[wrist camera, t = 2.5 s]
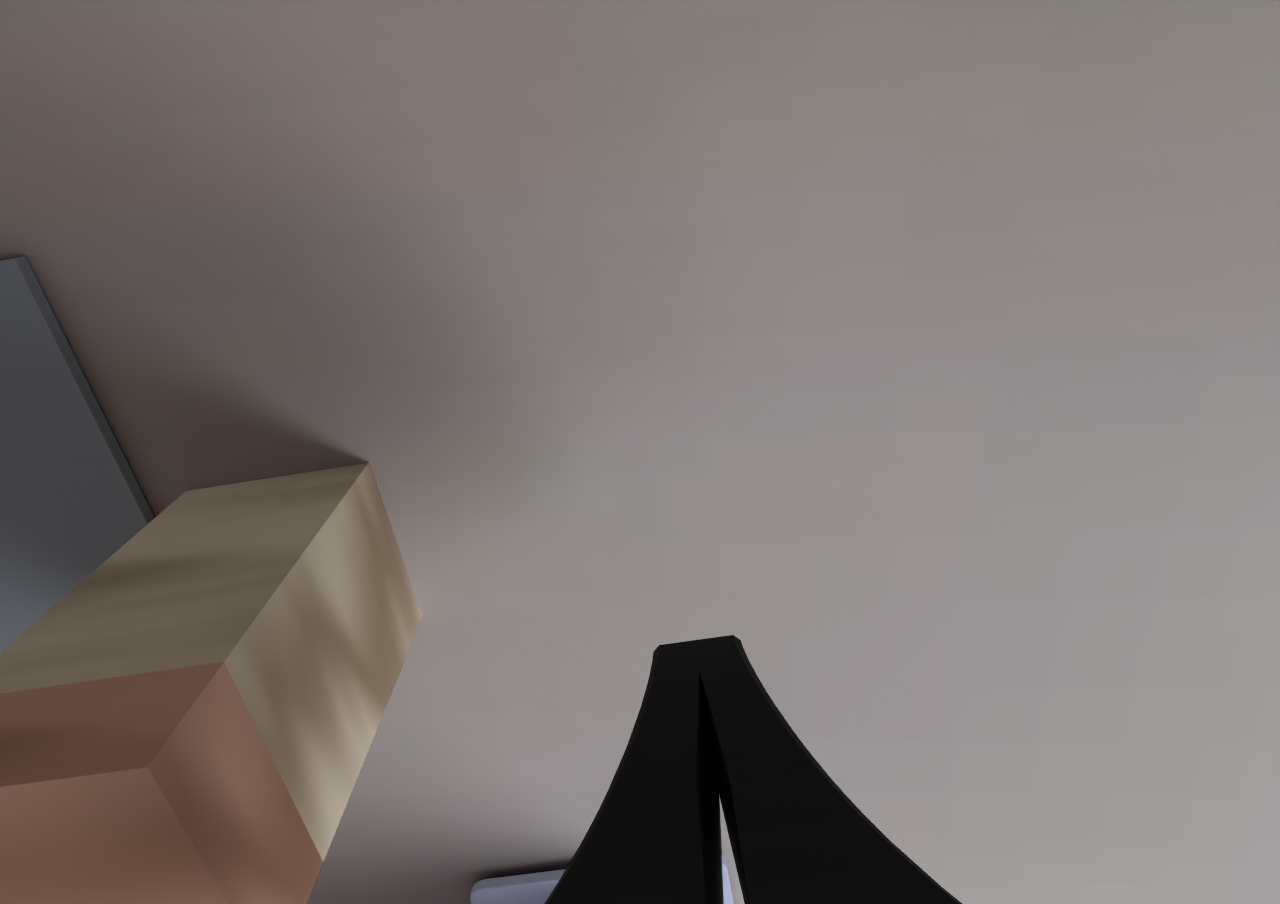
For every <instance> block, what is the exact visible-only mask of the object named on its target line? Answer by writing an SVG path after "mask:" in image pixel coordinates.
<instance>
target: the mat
mask: <svg viewBox="0 0 1280 904" xmlns="http://www.w3.org/2000/svg"><path fill="white" fill-rule="evenodd" d="M153 519H154V516H153V514H152V512H151V509H150V507H149V505H148V503H147V501H146V499H145V497H144V495H143V493H142V491H141V489H140V487H139V485H138V483H137V481H136V479H135V477H134V475H133V473H132V471H131V469H130V467H129V465H128V463H127V461H126V459H125V457H124V455H123V453H122V451H121V449H120V447H119V445H118V443H117V441H116V439H115V437H114V435H113V433H112V431H111V429H110V427H109V425H108V423H107V420H106V418H105V416H104V414H103V412H102V410H101V408H100V406H99V404H98V402H97V400H96V398H95V396H94V394H93V392H92V390H91V388H90V386H89V384H88V382H87V380H86V378H85V376H84V374H83V372H82V370H81V368H80V366H79V364H78V362H77V360H76V358H75V356H74V354H73V352H72V350H71V348H70V346H69V344H68V342H67V340H66V338H65V336H64V333H63V331H62V329H61V327H60V325H59V323H58V321H57V319H56V317H55V315H54V313H53V311H52V309H51V307H50V305H49V303H48V301H47V299H46V297H45V295H44V293H43V291H42V289H41V287H40V285H39V283H38V281H37V279H36V277H35V275H34V273H33V271H32V269H31V267H30V265H29V263H28V261H27V259H26V257H25V256H22V257H16V258H10V259H4V260H0V652H2V651H3V650H4V649H5V648H6V647H7V646H8V645H10V644H11V643H12V642H13V641H14V640H15V639H16V638H18V637H19V636H20V635H21V634H22V633H23V632H24V631H26V630H27V629H28V628H29V627H30V626H31V625H33V624H34V623H35V622H36V621H37V620H38V619H39V618H41V617H42V616H43V615H44V614H45V613H46V612H47V611H49V610H50V609H51V608H52V607H53V606H54V605H55V604H57V603H58V602H59V601H60V600H61V599H62V598H64V597H65V596H66V595H67V594H68V593H69V592H70V591H72V590H73V589H74V588H75V587H76V586H77V585H78V584H80V583H81V582H82V581H83V580H84V579H85V578H87V577H88V576H89V575H90V574H91V573H92V572H93V571H95V570H96V569H97V568H98V567H99V566H100V565H101V564H103V563H104V562H105V561H106V560H107V559H108V558H109V557H111V556H112V555H113V554H114V553H115V552H116V551H118V550H119V549H120V548H121V547H122V546H123V545H124V544H126V543H127V542H128V541H129V540H130V539H131V538H132V537H134V536H135V535H136V534H137V533H138V532H139V531H140V530H142V529H143V528H144V527H145V526H146V525H147V524H149V523H150V522H151V521H152V520H153Z"/></svg>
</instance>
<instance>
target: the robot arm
mask: <svg viewBox="0 0 1280 904" xmlns="http://www.w3.org/2000/svg"><path fill="white" fill-rule="evenodd" d="M719 795H720V800H721V804H722V808H723V812H724V817H725V821H726V825H727V830H728V834H729V838H730V842H731V847H732V851H733V855H734V859H735V864H736V868H737V872H738V877H739V881H740V885H741V889H742V894H743V898H744V902H745V904H962V903H961V902H959V901H958V900H957V899H956V898H955V897H953V896H952V895H951V894H950V893H948V892H947V891H946V890H945V889H943V888H942V887H941V886H940V885H939V884H938V883H937V882H935V881H934V880H933V879H932V878H931V877H930V876H929V875H928V874H927V873H925V872H924V871H923V870H922V869H921V868H920V867H919V866H918V865H916V864H915V863H914V862H913V861H912V860H911V859H910V858H909V857H908V856H906V855H905V854H904V853H903V852H902V851H901V850H900V849H899V848H898V847H896V846H895V845H894V844H893V843H892V842H891V841H890V840H889V839H888V838H887V837H886V836H885V835H884V834H883V833H882V832H881V831H880V830H879V829H878V828H877V827H876V826H875V825H874V824H873V823H872V822H871V821H870V820H869V819H868V818H867V817H866V816H865V815H864V814H863V813H862V812H861V811H860V810H859V809H858V808H857V807H856V806H855V805H854V804H853V802H852V801H851V800H850V799H849V798H848V797H847V796H846V795H845V794H844V793H843V792H842V791H841V789H840V788H839V787H838V786H837V785H836V784H835V783H834V781H833V780H832V779H831V778H830V777H829V776H828V774H827V773H826V772H825V771H824V770H823V769H822V767H821V766H820V765H819V764H818V762H817V761H816V760H815V759H814V757H813V756H812V755H811V754H810V752H809V751H808V750H807V749H806V747H805V746H804V745H803V743H802V742H801V741H800V739H799V738H798V737H797V735H796V734H795V733H794V731H793V730H792V729H791V727H790V726H789V724H788V723H787V721H786V720H785V719H784V717H783V716H782V714H781V713H780V711H779V710H778V708H777V707H776V706H775V704H774V703H773V701H772V700H771V698H770V696H769V695H768V693H767V692H766V690H765V688H764V687H763V685H762V683H761V682H760V680H759V678H758V677H757V675H756V673H755V671H754V669H753V668H752V666H751V664H750V662H749V660H748V658H747V655H746V653H745V651H744V649H743V646H742V643H741V640H739V639H738V638H737V637H735V636H734V635H730V636H723V637H716V638H708V639H701V640H694V641H687V642H679V643H672V644H665V645H659V646H658V647H657V649H656V650H655V651H654V653H653V661H652V666H651V671H650V676H649V680H648V684H647V688H646V691H645V695H644V698H643V702H642V705H641V708H640V711H639V714H638V717H637V720H636V723H635V725H634V728H633V731H632V734H631V737H630V740H629V742H628V745H627V748H626V750H625V753H624V755H623V757H622V760H621V762H620V764H619V767H618V769H617V771H616V774H615V776H614V778H613V781H612V783H611V785H610V788H609V790H608V792H607V794H606V796H605V798H604V800H603V802H602V804H601V807H600V809H599V811H598V813H597V815H596V816H595V818H594V820H593V822H592V824H591V826H590V828H589V830H588V832H587V833H586V835H585V837H584V839H583V841H582V843H581V844H580V846H579V848H578V850H577V851H576V853H575V855H574V856H573V858H572V860H571V861H570V863H569V865H568V866H567V868H566V869H563V870H555V871H547V872H539V873H531V874H523V875H515V876H507V877H499V878H491V879H484V880H480V881H478V882H477V883H475V884H474V885H473V887H472V891H471V896H470V900H471V904H733V898H732V892H731V886H730V880H729V875H728V869H727V863H726V859H725V857H724V856H723V855H722V849H721V825H720V802H719Z"/></svg>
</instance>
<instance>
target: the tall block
mask: <svg viewBox="0 0 1280 904" xmlns="http://www.w3.org/2000/svg"><path fill="white" fill-rule="evenodd" d="M421 619H422V615H421V612H420V609H419V606H418V603H417V600H416V598H415V595H414V592H413V589H412V586H411V583H410V580H409V577H408V574H407V571H406V569H405V566H404V563H403V560H402V557H401V554H400V551H399V548H398V545H397V543H396V540H395V537H394V534H393V531H392V528H391V525H390V522H389V519H388V516H387V514H386V511H385V508H384V505H383V502H382V499H381V496H380V493H379V490H378V488H377V485H376V482H375V479H374V476H373V473H372V470H371V467H370V464H369V463H362V464H356V465H350V466H343V467H337V468H330V469H324V470H317V471H311V472H305V473H298V474H292V475H285V476H279V477H272V478H266V479H259V480H253V481H247V482H240V483H234V484H227V485H221V486H214V487H208V488H201V489H195V490H189V491H185V492H184V493H183V494H182V495H181V496H180V497H178V498H177V499H176V500H175V501H174V502H173V503H171V504H170V505H169V506H168V507H167V508H166V509H165V510H163V511H162V512H161V513H160V514H159V515H158V516H157V517H155V518H154V519H153V520H152V521H151V522H150V523H149V524H147V525H146V526H145V527H144V528H143V529H142V530H140V531H139V532H138V533H137V534H136V535H135V536H134V537H132V538H131V539H130V540H129V541H128V542H127V543H126V544H124V545H123V546H122V547H121V548H120V549H119V550H118V551H116V552H115V553H114V554H113V555H112V556H111V557H109V558H108V559H107V560H106V561H105V562H104V563H103V564H101V565H100V566H99V567H98V568H97V569H96V570H95V571H93V572H92V573H91V574H90V575H89V576H88V577H87V578H85V579H84V580H83V581H82V582H81V583H80V584H78V585H77V586H76V587H75V588H74V589H73V590H72V591H70V592H69V593H68V594H67V595H66V596H65V597H64V598H62V599H61V600H60V601H59V602H58V603H57V604H55V605H54V606H53V607H52V608H51V609H50V610H49V611H47V612H46V613H45V614H44V615H43V616H42V617H41V618H39V619H38V620H37V621H36V622H35V623H34V624H33V625H31V626H30V627H29V628H28V629H27V630H26V631H24V632H23V633H22V634H21V635H20V636H19V637H18V638H16V639H15V640H14V641H13V642H12V643H11V644H10V645H8V646H7V647H6V648H5V649H4V650H3V651H2V652H0V904H307V902H308V899H309V897H310V894H311V892H312V889H313V887H314V884H315V882H316V879H317V877H318V874H319V872H320V870H321V867H322V865H323V862H324V860H325V857H326V855H327V852H328V850H329V847H330V845H331V842H332V840H333V837H334V835H335V832H336V830H337V827H338V825H339V822H340V820H341V817H342V815H343V812H344V810H345V807H346V805H347V802H348V800H349V798H350V795H351V793H352V790H353V788H354V785H355V783H356V780H357V778H358V775H359V773H360V770H361V768H362V765H363V763H364V760H365V758H366V755H367V753H368V750H369V748H370V745H371V743H372V740H373V738H374V735H375V733H376V730H377V728H378V725H379V723H380V721H381V718H382V716H383V713H384V711H385V708H386V706H387V703H388V701H389V698H390V696H391V693H392V691H393V688H394V686H395V683H396V681H397V678H398V676H399V673H400V671H401V668H402V666H403V663H404V661H405V658H406V656H407V653H408V651H409V648H410V646H411V644H412V641H413V639H414V636H415V634H416V631H417V629H418V626H419V624H420V621H421Z"/></svg>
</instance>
